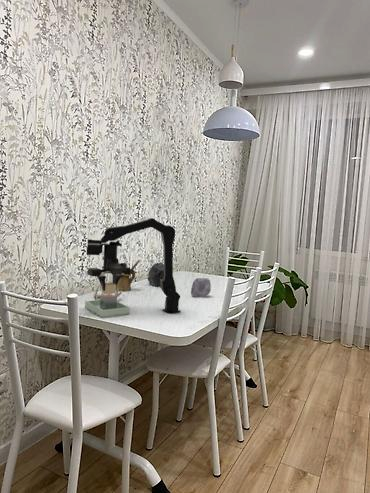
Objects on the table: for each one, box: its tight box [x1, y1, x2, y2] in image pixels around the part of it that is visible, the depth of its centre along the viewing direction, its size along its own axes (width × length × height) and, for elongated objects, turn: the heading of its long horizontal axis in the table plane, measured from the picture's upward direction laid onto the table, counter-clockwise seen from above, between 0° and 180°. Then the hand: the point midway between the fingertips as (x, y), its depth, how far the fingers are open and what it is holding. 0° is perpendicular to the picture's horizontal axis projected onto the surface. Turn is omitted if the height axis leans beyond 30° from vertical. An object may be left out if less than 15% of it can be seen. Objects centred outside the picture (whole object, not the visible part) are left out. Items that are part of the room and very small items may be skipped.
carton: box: [101, 282, 116, 295], centre depth 171 cm, size 4×4×4 cm
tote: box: [84, 299, 131, 319], centre depth 171 cm, size 18×13×3 cm
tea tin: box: [100, 294, 118, 310], centre depth 171 cm, size 6×6×6 cm
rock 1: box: [147, 262, 164, 287], centre depth 237 cm, size 16×14×15 cm
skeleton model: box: [93, 287, 123, 300], centre depth 195 cm, size 24×13×5 cm, turn 16°
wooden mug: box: [116, 259, 140, 292], centre depth 218 cm, size 9×14×18 cm, turn 84°
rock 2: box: [190, 277, 212, 298], centre depth 213 cm, size 10×6×10 cm, turn 118°
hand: (108, 290), depth 171 cm, fingers closed on carton, 4 cm apart
